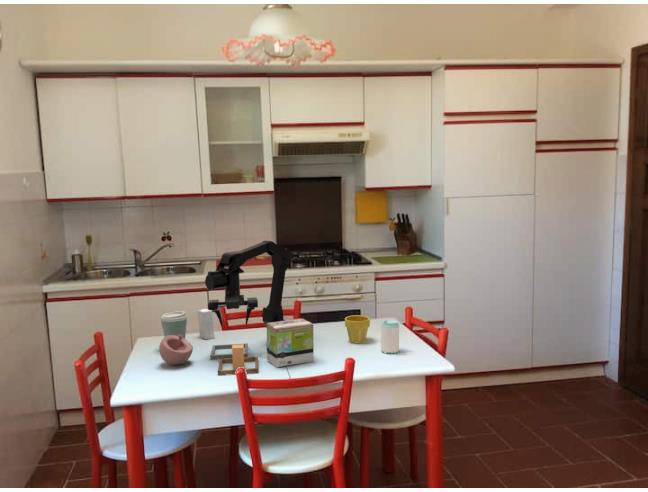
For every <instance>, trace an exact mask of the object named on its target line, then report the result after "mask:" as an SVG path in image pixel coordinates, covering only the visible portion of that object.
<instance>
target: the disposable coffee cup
mask: <svg viewBox="0 0 648 492" xmlns="http://www.w3.org/2000/svg"><path fill="white" fill-rule="evenodd" d="M187 321H188V314H187V312H186V311H184V310H177V311H172V312H167V313H164V314H162V315H161V317H160V323H161V328H162V333H163V338H164V337H166V336H168V335H176V336H178V335H179V334H180V335H182V336H183V338H184V339H186V334H187V333H186V332H187V325H188V323H187Z"/></svg>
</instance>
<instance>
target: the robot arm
mask: <svg viewBox="0 0 648 492" xmlns="http://www.w3.org/2000/svg"><path fill="white" fill-rule="evenodd" d="M263 254H267V255H269V257H271V265H272V268H273V271H272V273H273V274H272V280H271V287H270V295H269V303H268V304H267V306H266V307H265V306H264V307H262V314H261V318H262V322H263V323H264V325H265V328H266V329H267V323H271V322H279V321H286V320H285V319H284V311H283V307H282V300H283V293H284V287H285V279H286V278H285V277H286V273H287V272H286V271H287V270H288V268H289V267H290V266H291V262H292V259H293V252H292V251H291V249H288V248H285V247H283V246H280V245H279V244H277V243H276V242H274V241H272V240H263V241H261V242H259V243H256V244H254V245H251V246H248V247H247V248H243V249H242V250H237V251H228V252H224V253H223V254H222V255H221V257H220V260H219V263H218V264H217V266H216V268H215V270H214V271H213V270H212V271H211V270H210V271H207V275H206V277H205V280H204V284H205V286H206V289H207V290H209V291H212V290H218V289H223V288H224V295H225V296H224V301H220V300H219V299H209V300H208V303H207V309H208V310H211V311H212V313H214V314H215V315H216V317H217V318H218V321H219V323H220V327H223V325H224V322H223V315H222V311H221V310H222V309H221V307H225V308H226V310H231V309H235V310H238V309H239V308H240V306H241V307H242V306H246V310H245V312H246V314H245V326H247V325H248V322H249V318H250V315H251V312H252V311H253V310H255V309H256V308H259V301H258V300H259V299H258V298H257V297H246V299H247V300H245V295H244V294H241V287H240V286H241V282H240V281H241V280H240V274H244V273H245V271H244V269H242V268H241V267H242V266H243V265H245V263H246V262H247V261H249V260H252V259H254V258H256V257H259V256H261V255H263Z"/></svg>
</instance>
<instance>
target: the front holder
mask: <svg viewBox="0 0 648 492" xmlns="http://www.w3.org/2000/svg"><path fill="white" fill-rule="evenodd" d="M248 362H249V363H251V362H255V363H254V364H255V365H254V367H251V368H245V369H246V372H247V374H246V375H248V374H250V375H251V374H259V356H248V357H244V363H248ZM231 363H232V364H233V358H223V359H219V363H218V368H217V376H227V375H226V374H232V375H236V374H235V371H236V369H233V368H232V369H231V368H230V369H223V364H231Z"/></svg>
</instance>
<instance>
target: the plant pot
mask: <svg viewBox="0 0 648 492" xmlns="http://www.w3.org/2000/svg"><path fill="white" fill-rule="evenodd" d="M370 323H371V318H370V317H368V316H366V315H361V314H360V315H357V314H356V315H349V316H346V317H345V318H344V326H345V328H346V332H347V337H348V342H350V343H351V342H364V341H365V342H366V339H367V335H368V330H369V328H370V327H371V326H370V325H371V324H370ZM365 342H364V343H365Z"/></svg>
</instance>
